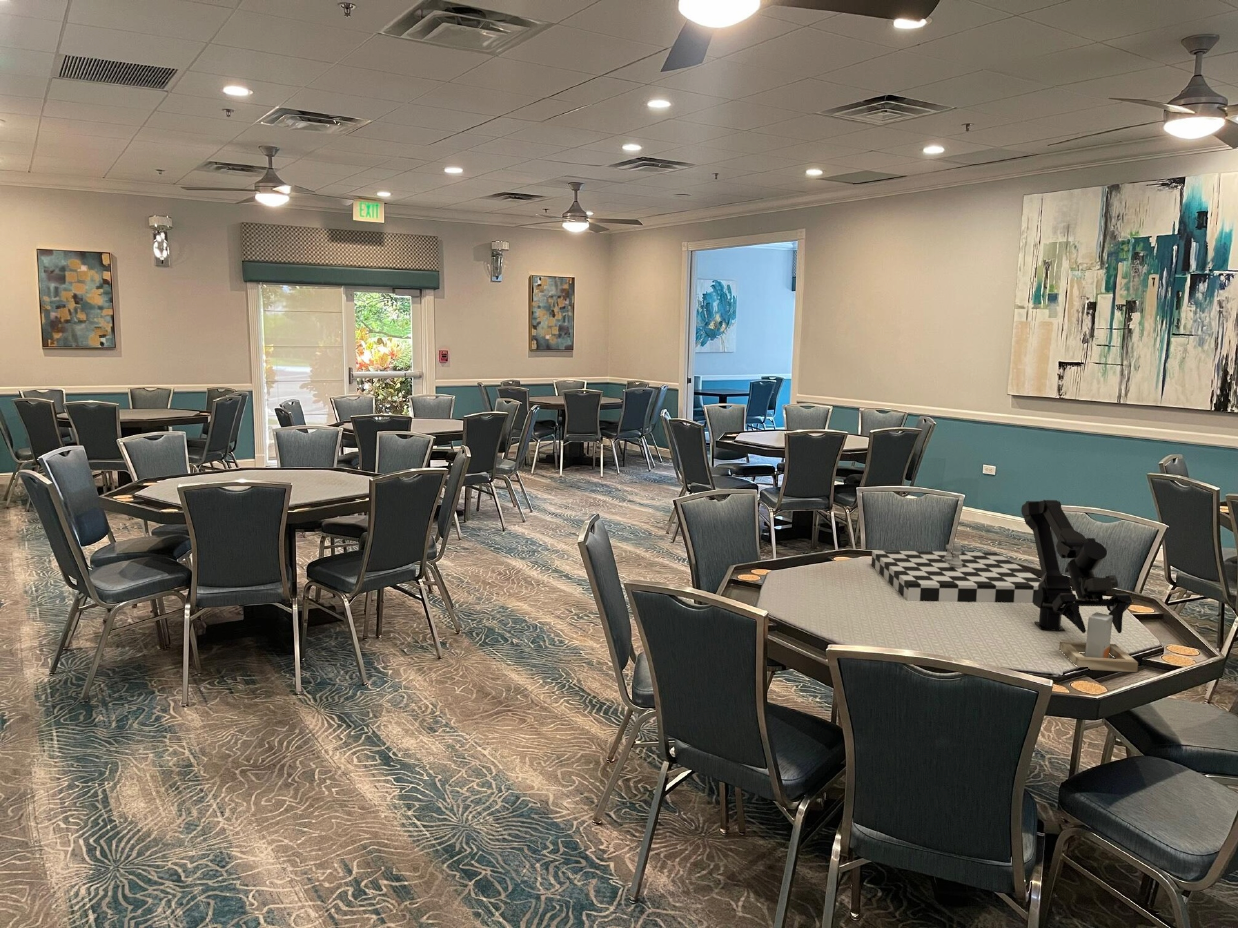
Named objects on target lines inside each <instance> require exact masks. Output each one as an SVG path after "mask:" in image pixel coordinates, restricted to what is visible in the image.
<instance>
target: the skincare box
mask: <svg viewBox="0 0 1238 928" xmlns="http://www.w3.org/2000/svg"><path fill="white" fill-rule="evenodd" d="M1112 618H1113V616H1112V615H1109V614H1106V613H1102V612H1097V611H1096V612H1094V613H1092V614H1091V615H1090V616H1088V619H1087V620H1088V622H1087V630H1086V633H1087V634H1086V641H1085V642H1086V650H1085V654H1084V657H1091V658H1110V655H1109V649H1110V644H1111V638H1112V637H1111V635H1112V627H1113V626H1112V625H1113V623H1112Z"/></svg>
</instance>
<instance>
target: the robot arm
mask: <svg viewBox="0 0 1238 928" xmlns="http://www.w3.org/2000/svg"><path fill="white" fill-rule="evenodd" d="M1021 515H1022V517H1023V520H1024V522H1025V525H1026V526H1028V527H1029V528H1030V530H1031V531H1032V533H1033V536H1034V542H1035V547H1036V552H1037V556H1038V563H1039V567H1040V572H1041V577H1040V579H1041V580H1040V582H1039V584H1038V590H1037V592H1036V593H1035V594H1034V596H1033V603H1032V604H1033V605H1034V606H1036V608H1039V616H1038V621H1034V624H1035V625H1036V627H1038V628H1039V629H1040V630H1042V631H1055V632H1056V631H1061V632H1064V631H1065V630H1066V629H1065V628H1064V627H1063V626H1062V616H1064V617H1065V618H1066V619H1067V620H1069V621H1070V622H1071V623H1072V624H1073V625H1074V626H1075V627H1076V628H1077V629H1078V630H1079V631H1080V632H1081V633H1082V634H1085V633H1087V630H1086V626H1085V623H1084V620H1083V617H1082V614H1081V612H1080V607H1106V608H1107V611H1109V613H1108V615H1112V616H1113V618H1112V625H1113V627H1114V628H1115V631H1116V632H1117V633H1118V634H1121V633H1122V632H1123V616H1124V613H1125V612H1126V610H1128V609H1129V608H1130V606H1132V604H1134V601H1133V598H1132V595H1130V594H1128V593H1114V594H1112V595H1111V597H1110V598H1103V597H1105V596H1106V595H1107V594H1108V592H1109V591H1113V589H1117V588H1118V587H1119V582H1118V579H1117V577H1116V575H1107V576H1105V577H1099V576H1098V577H1097V576H1095V573H1094V570H1096V569H1097V568H1098V567H1099V566H1100V565H1101V563H1102V562H1103V561H1104V560H1105V558H1106V557H1107V556H1108V551H1107V548H1106V547H1105V546H1104V545H1103V544H1101V543H1100V542H1098V541H1096V538H1094V537H1085V536H1084V535H1083V533H1081V532H1079V531H1077V530H1075V529H1074V527H1073V526H1072V523H1071V522H1070V521H1069V519H1068V517H1067V515H1066V514H1065V511H1064V510H1063V509H1062V503H1061V502H1060V501H1059V500H1057V499H1043V500H1026V502H1025V503H1024V504H1022V506H1021ZM1052 532H1053V533H1052ZM1053 534H1054V536H1055V537H1056V541H1057V542H1056V545H1055V542H1054V538H1053V537H1054V536H1053ZM1057 554H1058V555H1059V557H1060V558H1061V559H1066V560H1067V559H1071V560H1070V561H1069V562H1067V564H1066V566H1065V569H1064V572H1065V573H1069V576H1068V575H1063V574H1062V573H1061V570H1060V565H1059V560H1058V556H1057ZM1069 577H1070V578H1069ZM1070 580H1071V582H1072V586H1071V582H1070ZM1073 592H1075V594H1074V593H1073Z"/></svg>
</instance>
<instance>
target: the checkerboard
mask: <svg viewBox="0 0 1238 928" xmlns="http://www.w3.org/2000/svg"><path fill="white" fill-rule="evenodd" d="M945 549H946V550H947V551H926V550H925V551H917V550H916V551H915V550H913V551H910V550H909V551H906V550H905V551H904V550H872V551H871V566H872V568H874V569H875V570H876V572H877V573H879V574H880V576H882V577H883V578H884V579H885V581H887V582H888V583H889V584H890V585H891V586H892V587H893V588H894V589H895V590H896V591H897V592H898V593H899V594H900V595H901V596H902V597H904V599H905V600H906V601H908V602H948V603H949V602H953V603H955V602H956V603H957V602H958V603H959V602H960V603H1004V604H1006V603H1008V604H1009V603H1012V604H1013V603H1016V604H1017V603H1018V604H1021V603H1022V604H1033V596H1034V594H1035V593H1036V592H1037V590H1038V584H1039V582H1040V580H1041V578H1040V577H1038V576H1036V575H1034V574H1033V573H1031V572H1030V571H1028V570H1026V569H1024V568H1022V567H1021V566H1019V565H1018V564H1016V563H1014V562H1013V561H1012V560H1010V559H1008V558H1006V557H1004V556H1002V555H1001V554H1000V553H998V552H977V551H972V552H971V551H970V552H969V551H961V550H962V545H961V542H960V541H955V542H954V544H945Z"/></svg>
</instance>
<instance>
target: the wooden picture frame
mask: <svg viewBox="0 0 1238 928" xmlns="http://www.w3.org/2000/svg"><path fill="white" fill-rule="evenodd" d="M1059 650H1061V652H1063V654H1065V656H1067V658H1069V659H1070V660H1071V661H1072V662H1073V663H1074V664H1075V665H1077V666H1078V667H1088V668H1089V669H1090V670H1091V671H1092V670H1093V671H1109V672H1125V673H1126V672H1128V673H1130V672H1131V673H1138V667H1139V662H1138V661H1137V660H1136V659H1134V658H1133V657H1132V655H1131V656H1130V655H1129V654H1128V653H1127V652H1126V651H1124V650H1123V649H1122V648H1121V647H1119V646H1118V645H1117V644H1116V643H1110V649H1109V653H1110V654H1111V655H1112V656H1114V657H1115V658H1116V659H1113V658H1110V657H1109V658H1091V657H1085V655H1083V654H1080V653H1079V652H1085V650H1086V641H1085V642H1082V641H1062V640H1059V646H1058V651H1059ZM1061 652H1060V653H1061ZM1063 654H1062V655H1063ZM1065 656H1064V657H1065ZM1067 658H1066V659H1067ZM1070 660H1069V661H1070ZM1071 661H1070V662H1071ZM1072 662H1071V663H1072ZM1073 663H1072V664H1073ZM1074 664H1073V665H1074ZM1075 665H1074V666H1075Z"/></svg>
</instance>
